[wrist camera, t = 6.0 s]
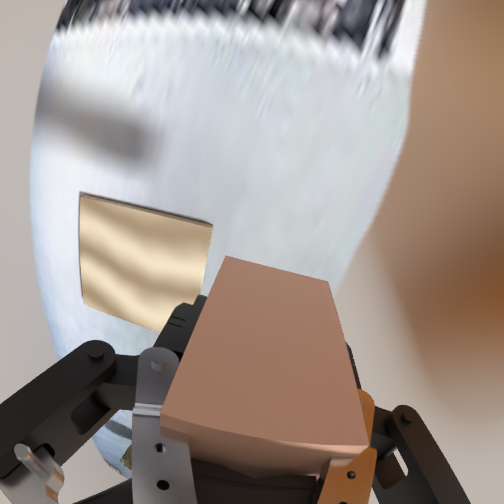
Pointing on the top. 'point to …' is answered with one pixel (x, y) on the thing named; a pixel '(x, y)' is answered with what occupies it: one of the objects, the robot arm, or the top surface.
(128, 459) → the cup
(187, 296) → the birch board
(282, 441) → the terracotta block
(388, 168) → the top surface
